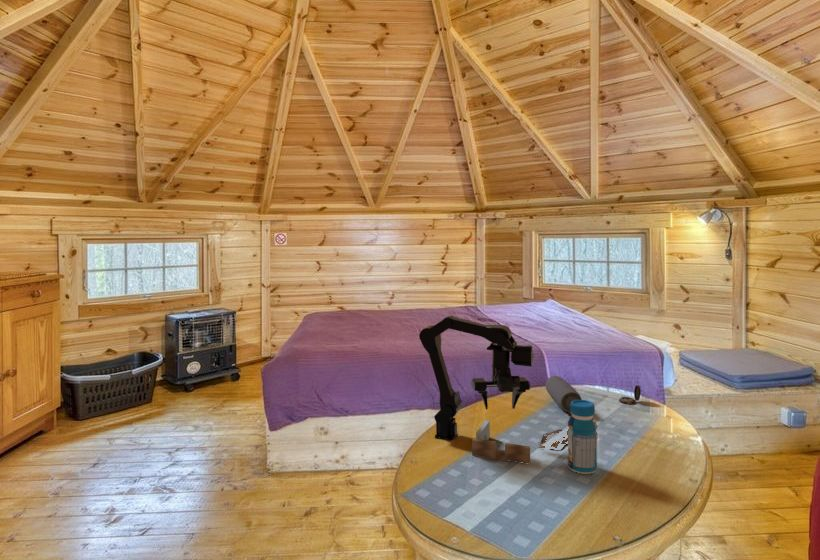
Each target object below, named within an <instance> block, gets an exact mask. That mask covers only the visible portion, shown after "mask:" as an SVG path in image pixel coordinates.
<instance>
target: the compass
mask: <svg viewBox="0 0 820 560" xmlns="http://www.w3.org/2000/svg"><path fill="white" fill-rule="evenodd" d="M641 392H642V391H641V387H640V385H637V384H636V385H635V386H634V392H633V397H634V398H632V397H630V396H629V397H628V396H622V397H620V398H619V399H618V401H619V402H620V404H621V403H622V404H625V405H634V404H635V403H636V401H639V400H640V399H641Z"/></svg>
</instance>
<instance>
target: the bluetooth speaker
mask: <svg viewBox="0 0 820 560" xmlns="http://www.w3.org/2000/svg"><path fill="white" fill-rule="evenodd" d="M544 386H545V390H546V392H547V393H548V394H549V396H550V398H551V399H552V400H553V402H554V403H555V404H557V406H558V405H559V406H560V407H561V408H562V409H561V408H560V407H559V408H560V409H561V410H562V411H565V412H567V413H570V414H571V412H570V404H571V401H573V400H583V399H582V397H581V395H580V394H579V392H578V391H577V390H576V389H575V388H574V387H573V385H571V384H570V383H569V382H568V381H566V380H565V379H564V378H562V377H561V376H558V375H552V376H550V377H548V378H547V379H546V382H545V385H544Z"/></svg>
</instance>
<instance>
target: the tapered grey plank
mask: <svg viewBox="0 0 820 560" xmlns="http://www.w3.org/2000/svg"><path fill="white" fill-rule="evenodd" d="M490 431H491V423H490V420H489V419H485V420H484V421H483V423H482V424H481V425H480V427H479V428H478V430H477V431H476V432H475V439H482V440H489V439H490V438H491V432H490Z"/></svg>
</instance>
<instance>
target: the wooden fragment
mask: <svg viewBox="0 0 820 560" xmlns="http://www.w3.org/2000/svg"><path fill="white" fill-rule="evenodd" d="M559 431H562V429H557V430H553V431H550V432H547V433H544V434H543V435H542V436H541V440H540V444H539V447H538V449H539V448H545V446H542V445H541V444H543V443H545V442H546V441H545V440H547V439H546V438H547V436H548V435H551V434H552V433H554V434H555V433H559ZM544 435H547V436H544ZM563 438H565V437H563ZM567 441H568V438H567V439H566V440H563V441H562V443H561V444H566V443H565V442H567ZM556 442H557V441H556ZM556 442H555V443H553V444H552V445H551V447H552V446H553V447H555V448H557V446H558V444H559V443H560V442H559V441H558V442H557V443H556Z"/></svg>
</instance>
